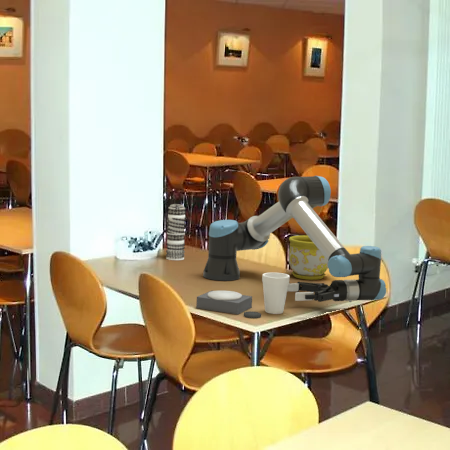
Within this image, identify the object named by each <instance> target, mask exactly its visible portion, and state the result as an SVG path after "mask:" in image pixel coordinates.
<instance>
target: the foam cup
mask: <svg viewBox="0 0 450 450" xmlns="http://www.w3.org/2000/svg"><path fill="white" fill-rule="evenodd" d="M290 278H291V276H290V275H289V274H287V273H282V272H265V273H262V278H261V282H262V288H263V301H264V303H263V304H264V312H265V313H268V314H270V315H280V314H283V313H284V310H285V304H286V299H287V293H288V291H287V289H288V284H290Z"/></svg>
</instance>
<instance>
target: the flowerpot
mask: <svg viewBox="0 0 450 450" xmlns="http://www.w3.org/2000/svg"><path fill="white" fill-rule="evenodd" d="M288 240H289V242H290V243H289V250H288V258H287V259H288V264H289V267H290V268H291V270H292V271H291V274H292V275H293V277H294V278H297V279H300V280H307V281H308V280H309V281H316V280H322V279H324V277H325V276H326V271H327V270H329V268H328V260H327V259H326V258H325V256H324V255H323V254H322V253H321V251H320V250H319V249H318V248H317V246H316V245H315V244H314V243H313V241H312V240H311V239H310V238H309V236H308V235H293V236H290V237H288Z"/></svg>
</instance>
